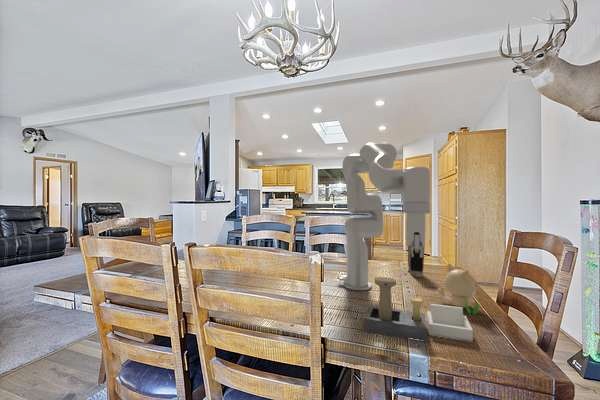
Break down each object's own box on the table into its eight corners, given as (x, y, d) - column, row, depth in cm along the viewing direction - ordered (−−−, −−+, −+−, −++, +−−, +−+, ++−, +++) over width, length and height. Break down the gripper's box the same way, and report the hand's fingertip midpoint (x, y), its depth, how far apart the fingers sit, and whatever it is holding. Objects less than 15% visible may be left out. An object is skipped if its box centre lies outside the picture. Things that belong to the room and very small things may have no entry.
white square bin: (429, 335, 81) (429, 315, 81) (427, 321, 91) (427, 303, 91) (472, 342, 77) (472, 321, 77) (465, 327, 87) (465, 307, 87)
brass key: (411, 323, 83) (411, 300, 83) (411, 319, 85) (411, 296, 85) (422, 325, 82) (422, 301, 82) (421, 320, 84) (421, 298, 84)
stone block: (426, 277, 140) (426, 238, 140) (412, 277, 140) (412, 238, 140) (417, 270, 153) (417, 234, 153) (404, 270, 153) (404, 234, 153)
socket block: (364, 331, 84) (364, 318, 84) (368, 317, 94) (368, 305, 94) (426, 342, 78) (426, 328, 78) (424, 325, 88) (424, 313, 87)
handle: (397, 331, 84) (396, 282, 84) (375, 329, 85) (374, 281, 85) (395, 324, 88) (395, 277, 88) (374, 322, 90) (374, 276, 90)
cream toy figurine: (489, 314, 96) (489, 271, 96) (464, 316, 95) (464, 272, 95) (458, 298, 111) (458, 261, 111) (436, 300, 109) (436, 262, 109)
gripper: (403, 207, 93) (403, 261, 93) (402, 209, 77) (402, 274, 77) (428, 207, 90) (428, 263, 90) (432, 209, 74) (432, 277, 74)
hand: (416, 267), depth 83 cm, fingers open, 5 cm apart
